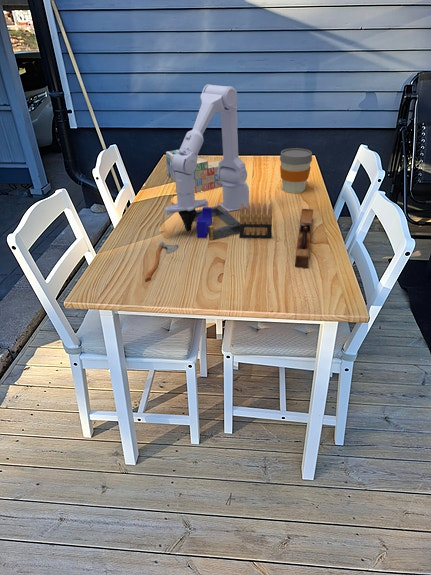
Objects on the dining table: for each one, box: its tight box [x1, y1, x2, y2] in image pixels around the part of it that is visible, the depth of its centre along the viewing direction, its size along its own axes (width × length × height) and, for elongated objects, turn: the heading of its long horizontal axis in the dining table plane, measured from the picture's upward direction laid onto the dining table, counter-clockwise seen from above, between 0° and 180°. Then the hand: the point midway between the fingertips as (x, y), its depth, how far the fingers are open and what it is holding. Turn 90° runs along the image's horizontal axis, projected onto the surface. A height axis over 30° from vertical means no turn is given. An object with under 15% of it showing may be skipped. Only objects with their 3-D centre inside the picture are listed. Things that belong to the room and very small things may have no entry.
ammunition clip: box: [238, 202, 273, 240], centre depth 138 cm, size 11×2×12 cm, turn 85°
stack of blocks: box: [174, 157, 223, 194], centre depth 175 cm, size 21×6×12 cm, turn 122°
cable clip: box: [195, 206, 213, 239], centre depth 145 cm, size 12×4×6 cm, turn 171°
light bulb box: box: [165, 149, 179, 182], centre depth 188 cm, size 11×7×11 cm, turn 25°
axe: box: [144, 241, 180, 282], centre depth 129 cm, size 22×6×2 cm, turn 175°
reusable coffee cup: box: [279, 147, 313, 194], centre depth 171 cm, size 13×13×15 cm
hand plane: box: [294, 208, 314, 269], centre depth 135 cm, size 34×5×10 cm, turn 170°
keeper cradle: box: [193, 205, 240, 241], centre depth 147 cm, size 12×18×4 cm, turn 26°
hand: (188, 229), depth 145 cm, fingers closed
